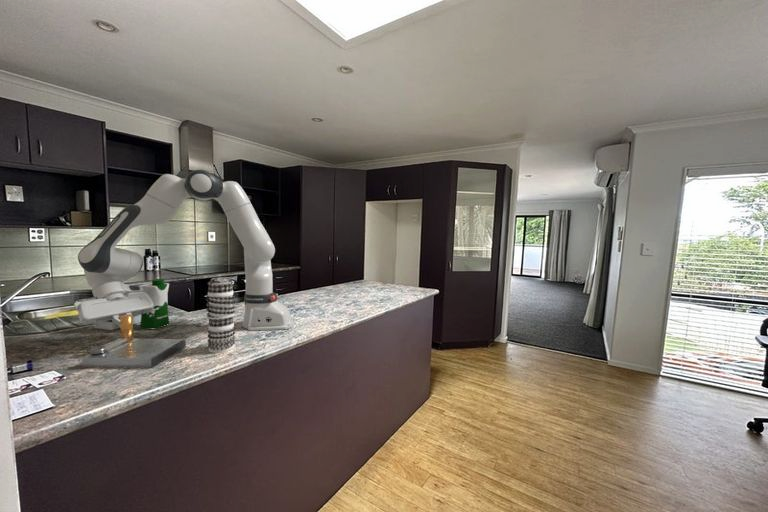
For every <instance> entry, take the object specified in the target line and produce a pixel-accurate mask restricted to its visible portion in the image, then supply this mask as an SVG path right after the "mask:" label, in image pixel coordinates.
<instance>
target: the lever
mask: <svg viewBox="0 0 768 512" xmlns="http://www.w3.org/2000/svg"><path fill="white" fill-rule="evenodd" d="M120 324H121V329H120V338H117V339H115V340H113V341H110V342H108V343H105V344H104V345H99V346H94V347H92V348H90V350H89V352H90V353H89V354H90V355H99V354H103V353H105V352H106V350H108V349H110V348H112V347H114V346H117V345H119V344H121V343H123V342H126V341H131V340H133V339H134V324H133V315H122V316H120Z"/></svg>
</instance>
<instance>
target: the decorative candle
mask: <svg viewBox="0 0 768 512" xmlns="http://www.w3.org/2000/svg"><path fill="white" fill-rule="evenodd" d="M233 283H234V281H233V280H232V279H231V278H229V277H225V276H222V277H219V276H218V277H214V278H211V279H210V281H209V282H207V287H208V289H207V290H208V291H207V295H206V297H205V301H206V302H207V303H206V305H205V306H206V308H205V309H206V311H207V314H206V317H207V318H208V330H207V338H208V339H207V343H208V344H207V347H208V348H207V351H208V352H210V353H214V354H218V353H225V352H228V351H231V350H234V348H235V347H236V345H235V344H236V340H235V339H236V336H235V334H236V331H235V330H236V327H234V326H235V322H234V316H235V313H236V311H235V310H234V309H235V308H236V306H235V305H234V304H235V303H236V301H235V299H236V296H234V290H233V287H234V285H233Z"/></svg>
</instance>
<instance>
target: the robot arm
mask: <svg viewBox="0 0 768 512" xmlns="http://www.w3.org/2000/svg"><path fill="white" fill-rule="evenodd" d="M187 199H190V200H191V199H193V200H197V201H201V202H207V201H210V200H215V201H216V202H218V204H219V205H220V207H221V208H222V210H223V212H224V214H225V216H226V218H227V220H228V222H229V224H230V226H231V228H232V230H233V231H234V233H235V234H236V237H237V238H238V240H239V242H240V243H241V245H242V247H243V256H244V257H243V258H244V259H243V260H244V274H245V276H244V277H245V293H244V297H243V298H244V299H243V300H244V306H245V307H244V308H245V309H244V315H243V319H242V324H241V327H243V328H244V329H247V330H248V331H250V332H251V331H253V332H255V331H272V330H273V331H275V330H276V331H277V330H279V331H280V330H287V329H290V328H292V327H293V326H295V324H296V323H297V320H296V319H295V317H291V312H290V309H289V308H288V307H287V306H286V305H284V304H283V303H281V302H280V301H278V295H279V294H278V293H275V292H274V291H273V288H274V287H273V285H274V284H273V270H272V262H271V261H272V259H273V258H274V256H275V253H276V248H275V247H276V246H275V245H274V243H273V240H272V239H271V238H270V235H269V234H268V232H267V230H266V229H265V227H264V226H263V224H262V222H261V221H260V218H259V216H258V214H257V212H256V210H255V208H254V206H253V205H252V203H251V200H250V198H249V197H248V195H247V193H246V192H245V190H244V189H243V187H242V186H241V185H240V184H239V183H238V182H237V181H233V180H227V181H222V180H221V179H220V178H218V177H216V176H215V175H214V174H213V173H211V172H209V171H207V170H204V169H196V170H192V171H190V172H189V173H188V174H187V175H186V177H185V178H182V177H180V176H177V175H175V174H170V173H164V174H162V175H161V176H160V177H159V178H158V179H156V181H155V182H153V184H152V185H151V186H150V188H149V189H148V190H147V191H146V193H145V195H144V196H143V197H142V198H141V199H140V200H139V201H138V202H136V203H134V204H130V205H127V206H125V207H123V209H122V210H121V211H119V213H117V214H116V216H114V218H113V219H111V221H109V223H108V224H107V225H106V226H105V227H104V228H103V229H102V230H101V232H100V233H99V234H97V236H95V238H94V239H93V240H92V241H90V242H88V243H87V244H86V245H84V246H83V248H82V249H80V251H79V253H78V255H77V260H78V262H79V265H80V266H81V268H82V269H83V272H84V277H85V279H86V281H87V284H88V286H89V287H90V288H91V292H92V295H93V296H92V297H88V298H81V299H78V300H77V301H75V302H74V303H73V307H74V309H75V311H77V312H78V319H79V322H80V324H82V325H83V326H84V325H85V326H87V325H88V326H89V325H94V323H98V322H103V321H108V320H112V322H114V323H115V324H117V325H119V327H120V328H119V329H120V330H121V324H120V319H119V318H120V316H122V315H133V316H134V315H139V314H144V313H149V312H151V311H152V309H153V307H154V303H153V301H152V300H151V298H150V297H149V295H148V294H147V293H145V292H143V287H142V286H139V285H135V284H134V285H133V284H127V283H124V281H127V280H129V279H131V278H133V277H134V276H135V275H137V274H139V272H141V271H142V269H143V266H144V263H143V262H144V261H143V256H141V255H140V253H138V252H135V251H132V250H128V249H125V248H119V247H116V246H117V245H118V243H120V241H122V239H123V238H124V237H125V236H126V235H127V234H128V232H129V231H131V229H133V228H135V227H138V226H145V225H147V226H149V225H151V226H153V225H154V226H155V225H162V224H166V223H168V222H170V221H171V220H172V219H173V218H174V217H175V215H176V214H177V212H178V211H179V209H180V207H181V206H182V204H183V203H184V202H185V200H187Z"/></svg>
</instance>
